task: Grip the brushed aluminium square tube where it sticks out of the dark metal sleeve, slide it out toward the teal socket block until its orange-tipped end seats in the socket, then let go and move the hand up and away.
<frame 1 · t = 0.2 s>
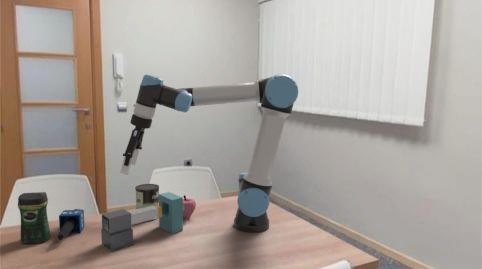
hand: (128, 168, 139), 27 cm above the table, tool tilted 15°, fingers open, 13 cm apart
socket block: (170, 228, 151), on the table
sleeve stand: (117, 244, 136), on the table
coffee can: (147, 217, 164), on the table
apple: (185, 218, 164), on the table
microphone: (70, 233, 145), on the table
slip tube: (133, 217, 139), point 9 cm above the table, slide at 0.0 cm
coffee jar: (35, 240, 138), on the table
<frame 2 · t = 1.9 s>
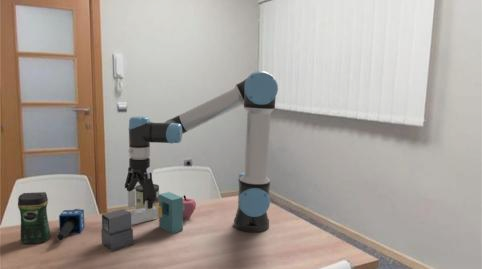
hand: (139, 211, 141), 11 cm above the table, tool pointing down, fingers open, 13 cm apart
nothing on the table moved.
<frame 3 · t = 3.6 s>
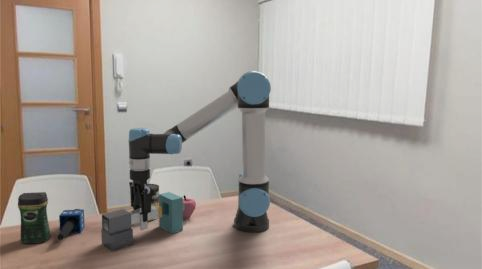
hand: (141, 227, 142), 4 cm above the table, tool pointing down, fingers closed on slip tube, 4 cm apart
slip tube: (133, 217, 139), point 9 cm above the table, slide at 0.0 cm, touching gripper
everything else where it was.
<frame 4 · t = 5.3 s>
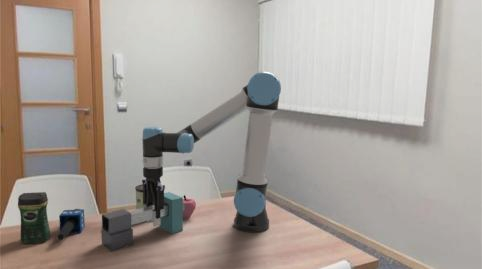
hand: (153, 223, 145), 4 cm above the table, tool pointing down, fingers closed on slip tube, 4 cm apart
slip tube: (146, 213, 143), point 9 cm above the table, slide at 5.6 cm, touching gripper
everything else where it was.
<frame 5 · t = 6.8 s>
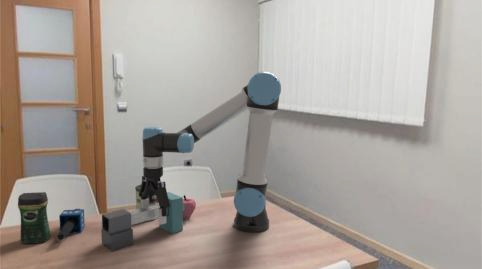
hand: (154, 219, 145), 6 cm above the table, tool pointing down, fingers open, 12 cm apart
slip tube: (146, 213, 143), point 9 cm above the table, slide at 5.5 cm
everything else where it was.
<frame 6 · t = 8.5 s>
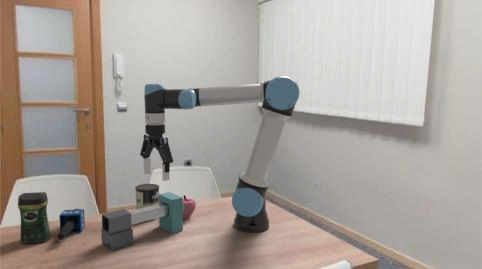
hand: (156, 177, 145), 23 cm above the table, tool pointing down, fingers open, 13 cm apart
nothing on the table moved.
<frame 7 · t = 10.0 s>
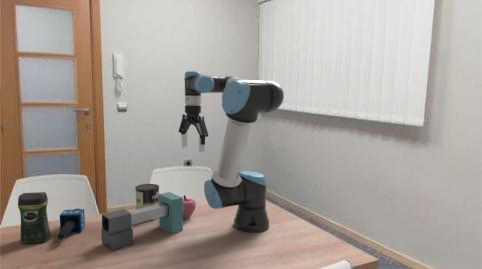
hand: (192, 149, 173), 29 cm above the table, tool pointing down, fingers open, 13 cm apart
nothing on the table moved.
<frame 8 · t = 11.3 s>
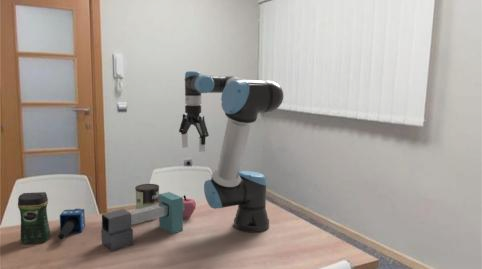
hand: (193, 149, 174), 29 cm above the table, tool pointing down, fingers open, 13 cm apart
nothing on the table moved.
at the end: slip tube slide at 5.5 cm; the gripper is holding nothing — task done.
